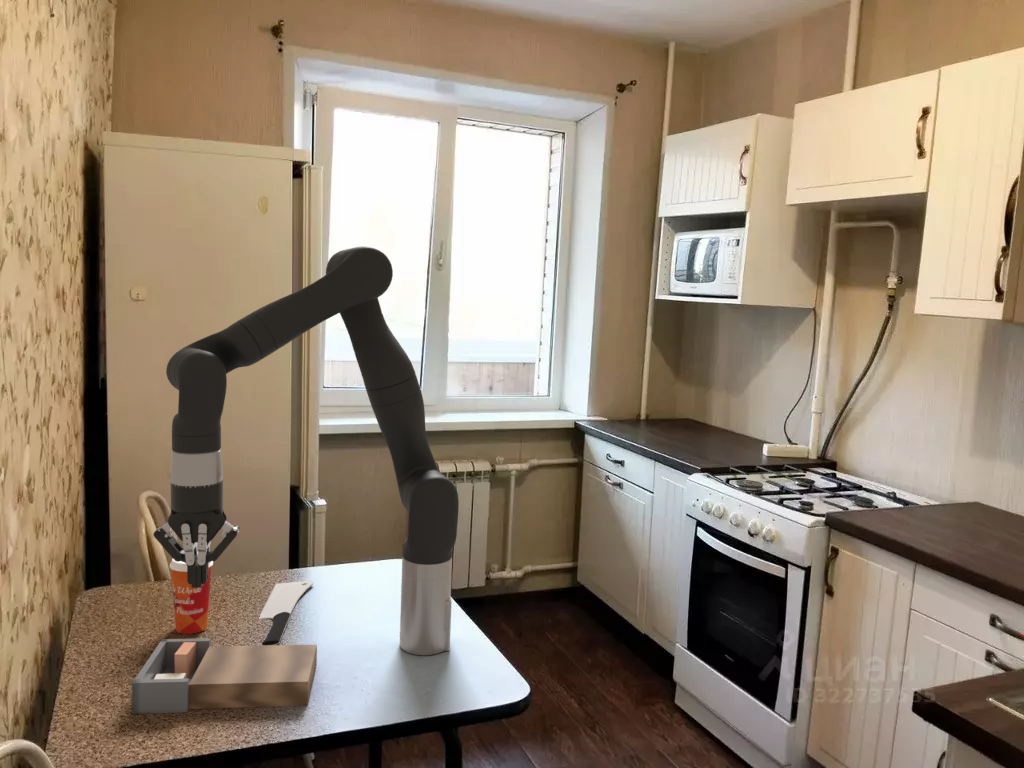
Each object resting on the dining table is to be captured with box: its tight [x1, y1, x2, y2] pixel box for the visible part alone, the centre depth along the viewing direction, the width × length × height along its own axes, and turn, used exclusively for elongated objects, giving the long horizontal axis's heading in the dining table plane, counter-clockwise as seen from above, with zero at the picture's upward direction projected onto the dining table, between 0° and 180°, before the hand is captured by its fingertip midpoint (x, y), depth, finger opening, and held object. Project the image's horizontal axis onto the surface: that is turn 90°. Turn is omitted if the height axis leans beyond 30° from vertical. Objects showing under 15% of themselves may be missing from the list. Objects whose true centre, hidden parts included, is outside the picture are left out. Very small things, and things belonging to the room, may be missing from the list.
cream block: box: [154, 673, 186, 679], centre depth 125 cm, size 4×4×2 cm
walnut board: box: [189, 644, 318, 710], centre depth 129 cm, size 18×13×4 cm
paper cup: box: [169, 558, 214, 635], centre depth 149 cm, size 8×8×14 cm
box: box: [131, 637, 212, 715], centre depth 127 cm, size 8×15×5 cm, turn 8°
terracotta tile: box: [175, 642, 196, 679], centre depth 131 cm, size 4×4×2 cm
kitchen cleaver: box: [258, 580, 314, 646], centre depth 158 cm, size 31×2×10 cm
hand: (197, 585), depth 123 cm, fingers closed
